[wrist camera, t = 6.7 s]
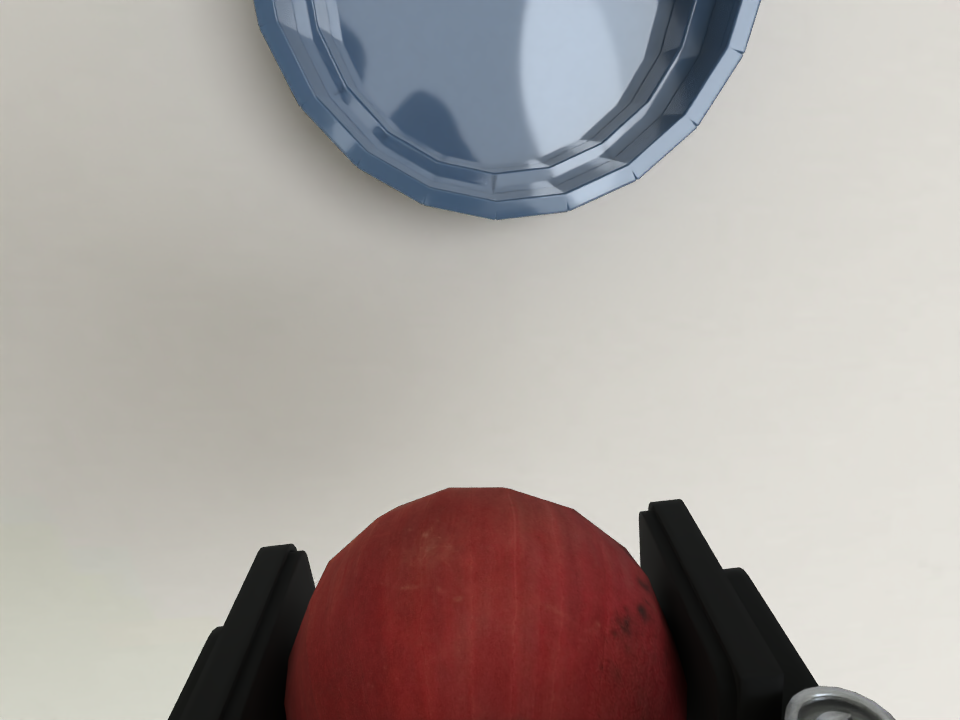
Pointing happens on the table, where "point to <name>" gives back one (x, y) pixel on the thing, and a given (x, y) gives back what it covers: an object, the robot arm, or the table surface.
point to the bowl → (506, 90)
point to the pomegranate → (484, 620)
